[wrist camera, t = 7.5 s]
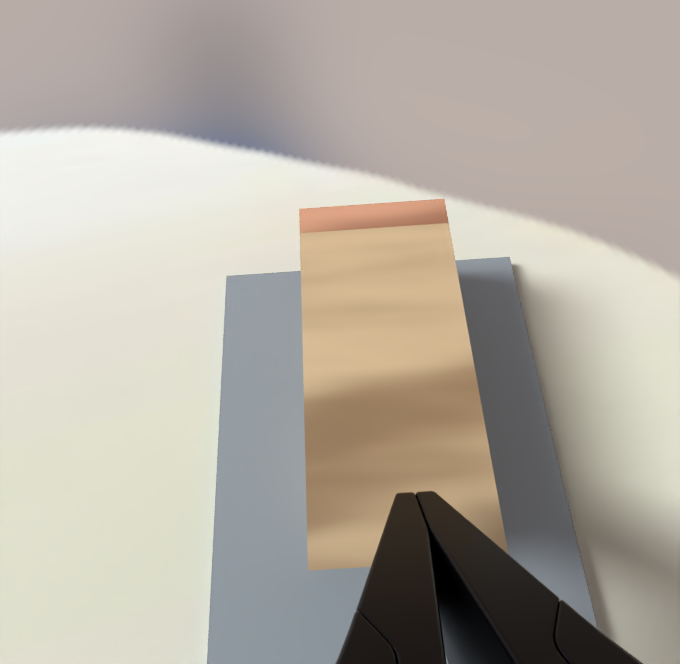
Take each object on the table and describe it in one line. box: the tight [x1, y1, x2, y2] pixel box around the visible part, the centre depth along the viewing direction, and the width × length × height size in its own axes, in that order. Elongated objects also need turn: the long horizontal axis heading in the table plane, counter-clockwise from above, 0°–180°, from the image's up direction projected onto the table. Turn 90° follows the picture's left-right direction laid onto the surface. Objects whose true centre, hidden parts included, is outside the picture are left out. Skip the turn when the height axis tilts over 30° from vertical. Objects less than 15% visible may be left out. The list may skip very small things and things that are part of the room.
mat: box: [207, 257, 598, 664], centre depth 16 cm, size 20×13×1 cm, turn 3°
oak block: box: [299, 199, 508, 570], centre depth 15 cm, size 5×5×11 cm
